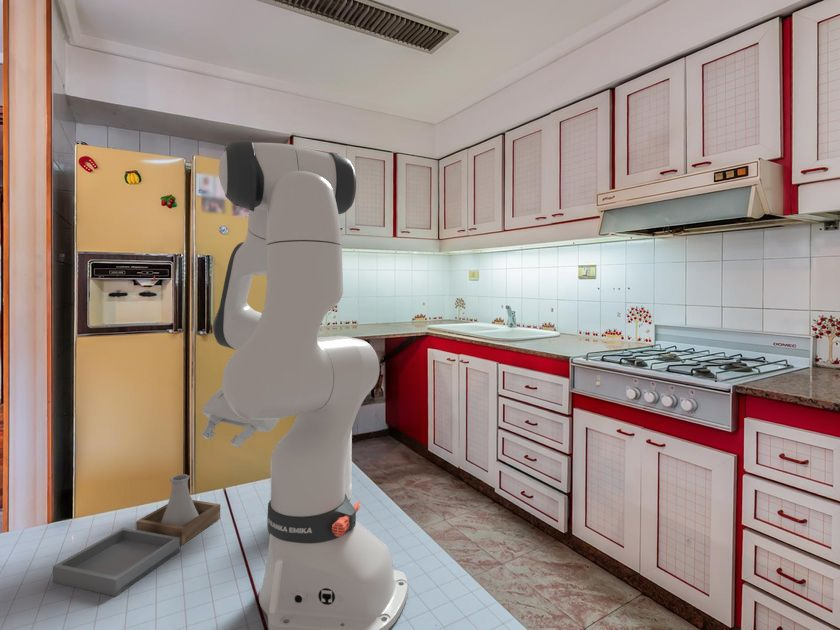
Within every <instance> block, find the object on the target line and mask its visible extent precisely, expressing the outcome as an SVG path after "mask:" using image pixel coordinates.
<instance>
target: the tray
mask: <svg viewBox="0 0 840 630" xmlns="http://www.w3.org/2000/svg"><path fill="white" fill-rule="evenodd" d="M180 546H181V545H180V538H179V537H173V536H168V535H162V534H157V533H151V532H145V531H140V530H136V529H133V528H128V527H122V528H120V529H118V530H115V532H112V533H111V534H109V535H107V536H106V537H104V538H102V539H100V540H98V541H96V542H94V543H93V544H91V545H88V546H87V547H86V548H84V549H82V550H80V551H78V552H77V553H75V554H72V555H71V556H69V557H67V558H65V559H64V560H62V561H60V562H58V563H56V564H55V565H53V566H52V582H53V583H56V584H60V585H64V586H70V587H74V588H77V589H82V590H86V591H91V592H95V593H100V594H104V595H108V596H113V597H118V596H119V595H120V594H121V593H123V592H125V591H126V590H128V589H129V588H130V587H131V586H133V585H135V584H136V583H137V582H138V581H140V580H142V579H143V578H144V577H145V576H146V577H147V575H148V574H150V573H151V572H153V571H154V570H156V569H157V568H159V567H160V566H161V565H162V564H164V563H166V562H168V560H170V559H171V558H172V557H174V556H176V555H177V554H178V553H180V548H181V547H180Z"/></svg>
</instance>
